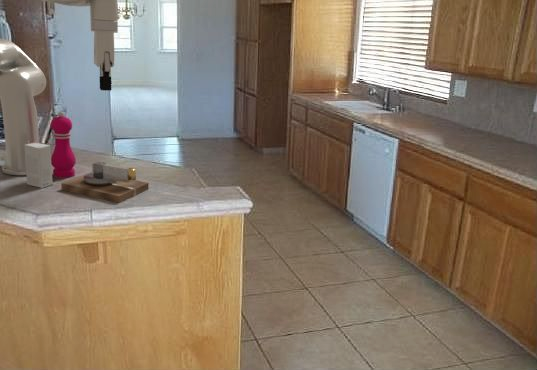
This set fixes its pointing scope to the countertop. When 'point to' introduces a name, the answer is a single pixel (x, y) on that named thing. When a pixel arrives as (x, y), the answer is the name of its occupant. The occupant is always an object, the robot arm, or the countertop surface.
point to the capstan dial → (109, 174)
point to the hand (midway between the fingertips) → (105, 89)
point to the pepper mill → (62, 147)
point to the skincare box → (38, 164)
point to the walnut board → (106, 189)
